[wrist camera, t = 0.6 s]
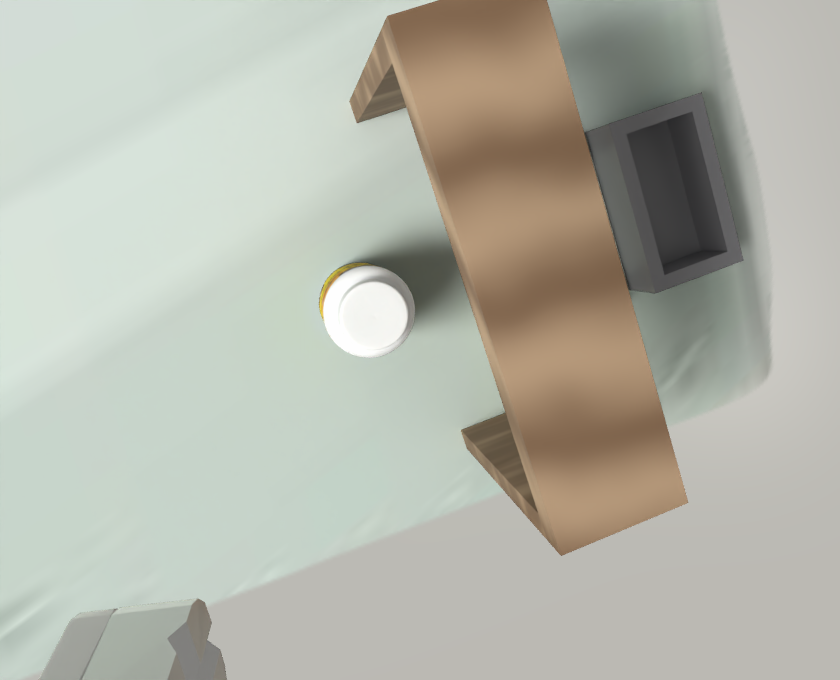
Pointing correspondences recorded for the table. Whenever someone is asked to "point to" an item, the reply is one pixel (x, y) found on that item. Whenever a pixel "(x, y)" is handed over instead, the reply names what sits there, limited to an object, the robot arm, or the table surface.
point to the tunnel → (531, 264)
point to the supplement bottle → (366, 309)
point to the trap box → (665, 195)
